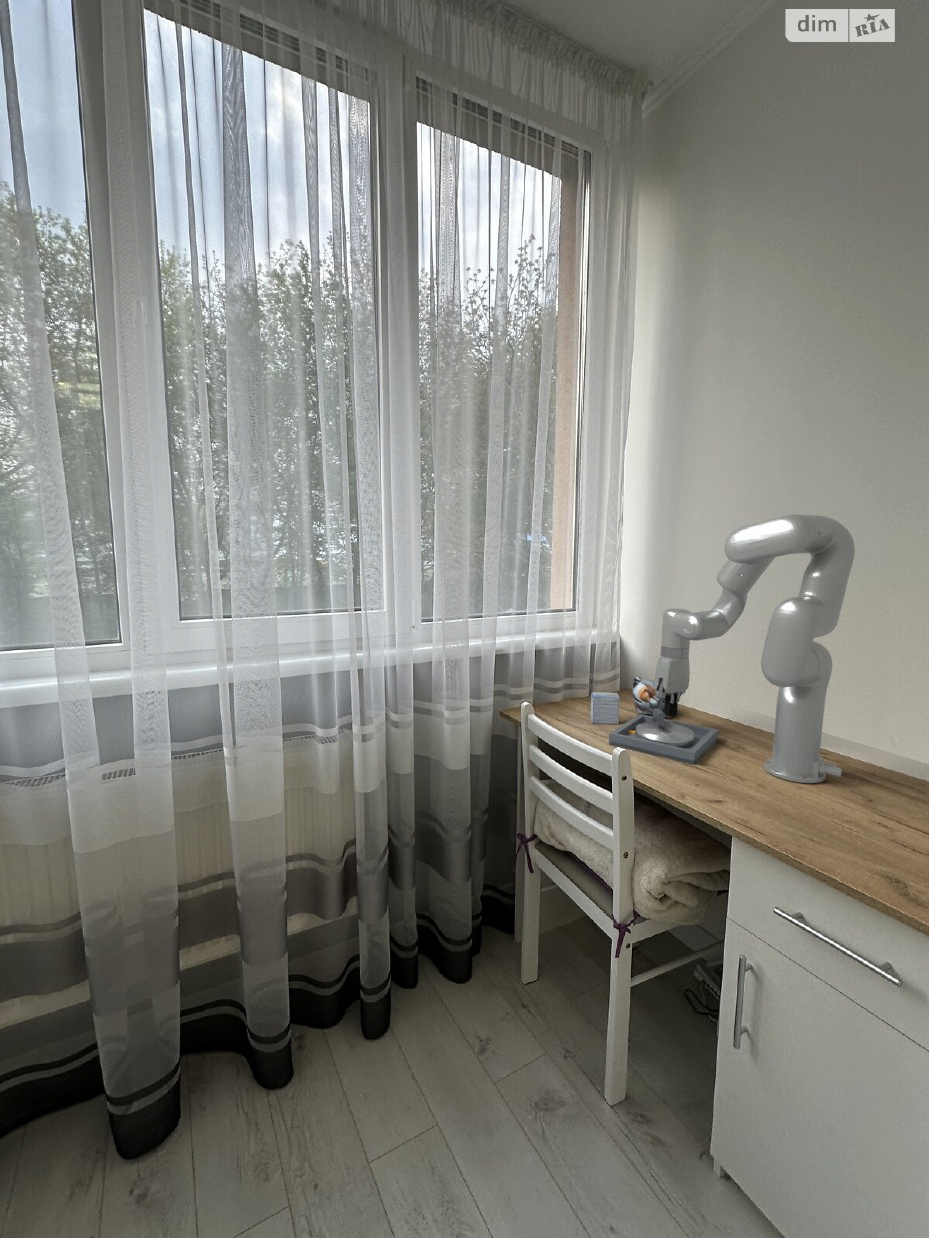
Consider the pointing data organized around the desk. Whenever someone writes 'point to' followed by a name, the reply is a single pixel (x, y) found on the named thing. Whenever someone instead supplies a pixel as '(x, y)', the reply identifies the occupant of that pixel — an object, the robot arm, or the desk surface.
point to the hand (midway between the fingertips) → (670, 715)
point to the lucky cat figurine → (647, 697)
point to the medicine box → (605, 708)
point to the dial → (664, 731)
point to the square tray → (688, 754)
